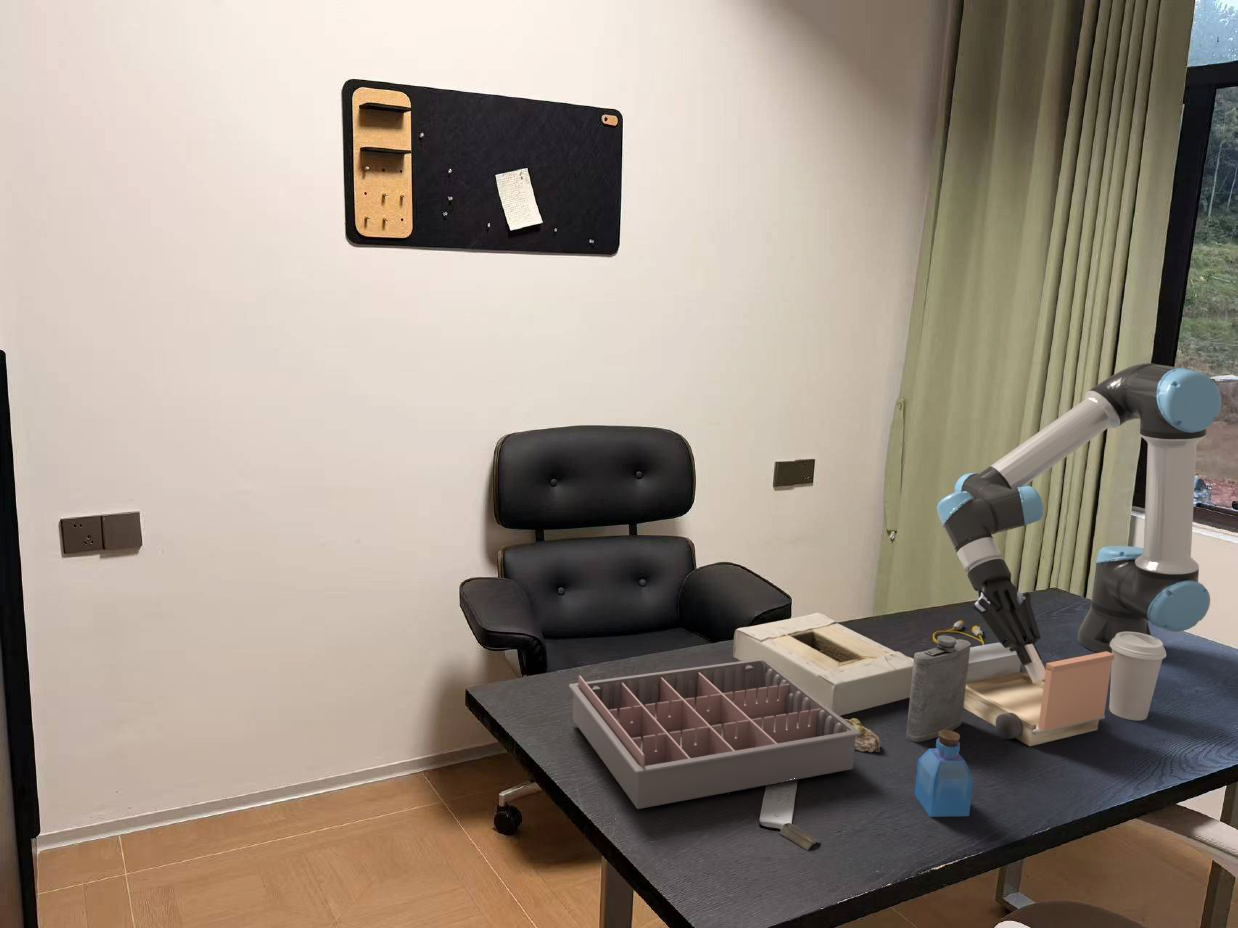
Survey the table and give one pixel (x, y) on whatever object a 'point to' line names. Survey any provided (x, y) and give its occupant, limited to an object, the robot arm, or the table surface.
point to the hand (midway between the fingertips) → (1041, 679)
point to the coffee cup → (1134, 673)
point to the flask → (938, 689)
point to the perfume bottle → (944, 778)
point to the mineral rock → (865, 737)
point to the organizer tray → (709, 730)
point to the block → (798, 836)
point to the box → (829, 661)
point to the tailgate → (1074, 691)
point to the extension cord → (958, 626)
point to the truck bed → (1009, 696)
